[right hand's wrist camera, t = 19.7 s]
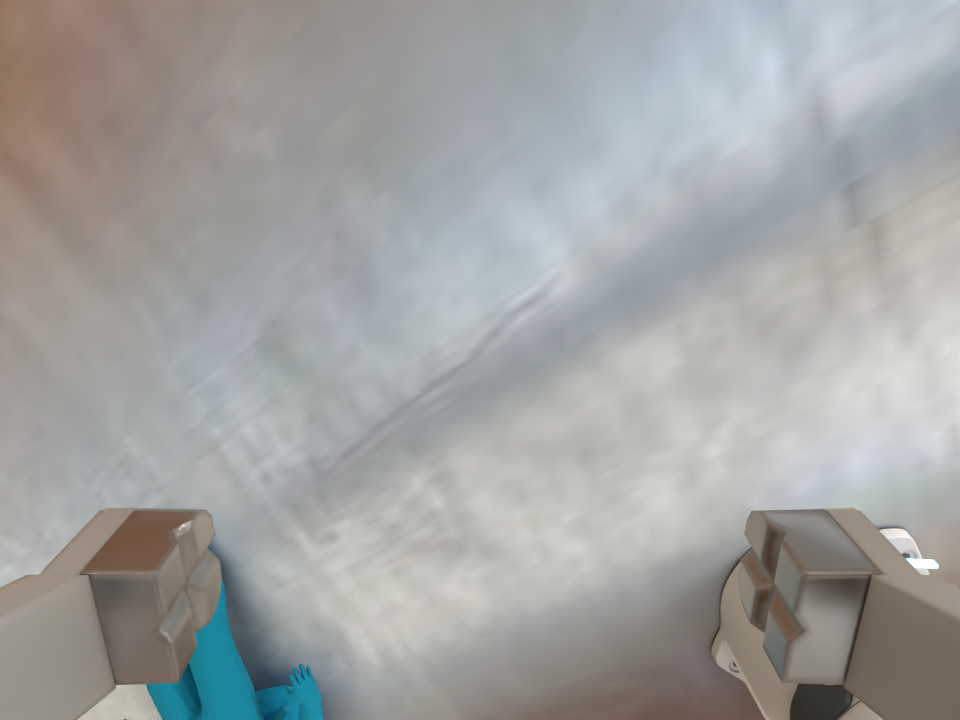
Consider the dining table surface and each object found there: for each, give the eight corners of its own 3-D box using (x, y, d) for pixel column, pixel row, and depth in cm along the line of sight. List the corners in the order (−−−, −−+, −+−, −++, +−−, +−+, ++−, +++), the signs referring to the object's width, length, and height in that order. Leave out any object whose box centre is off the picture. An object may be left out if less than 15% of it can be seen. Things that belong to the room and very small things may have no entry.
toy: (216, 540, 47) (376, 909, 50) (276, 490, 57) (405, 797, 60) (13, 611, 49) (177, 960, 52) (107, 550, 60) (238, 844, 62)
